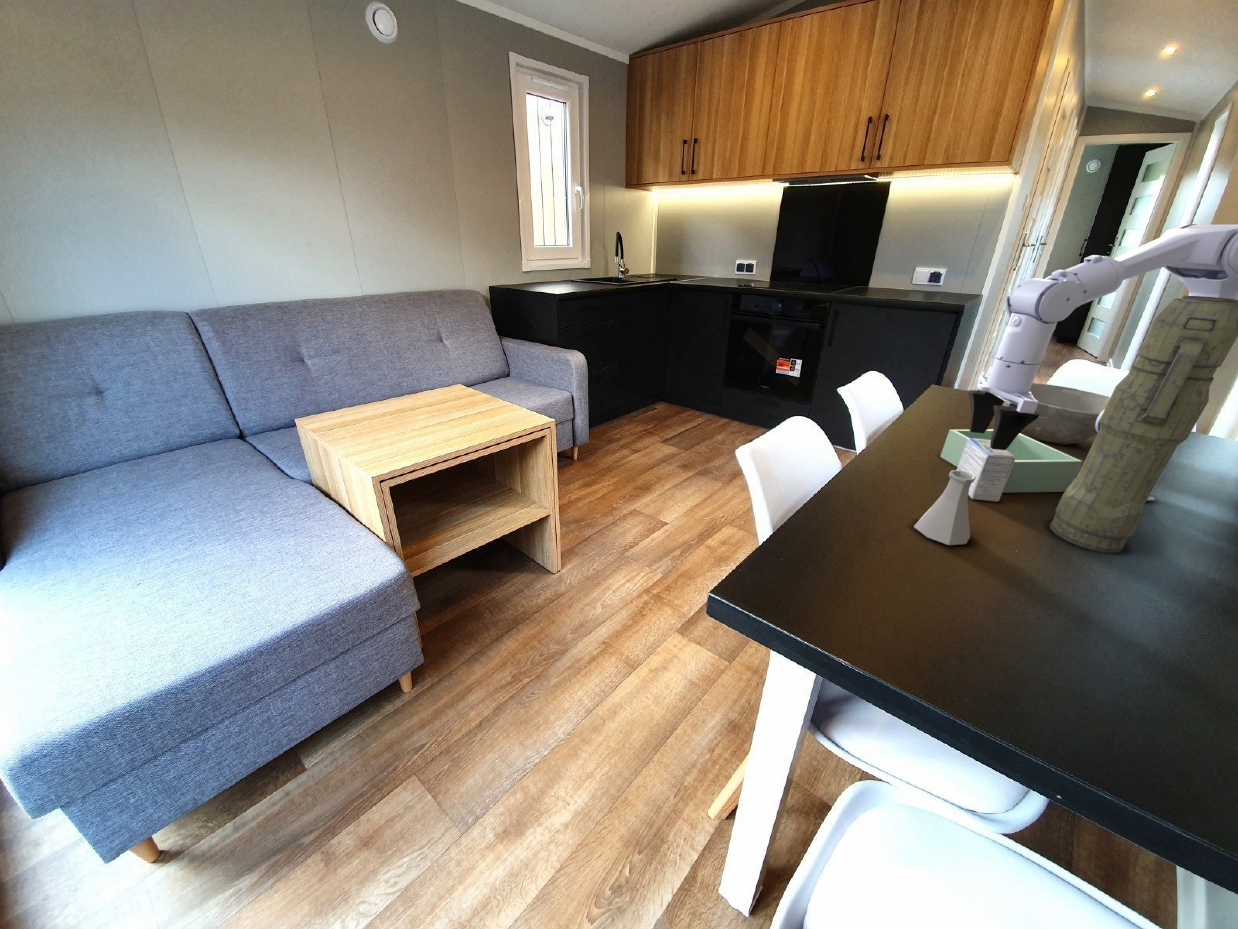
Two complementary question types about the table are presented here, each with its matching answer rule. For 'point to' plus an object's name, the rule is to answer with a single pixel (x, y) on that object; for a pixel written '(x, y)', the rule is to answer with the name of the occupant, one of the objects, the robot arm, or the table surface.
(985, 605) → the table surface
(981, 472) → the medicine box
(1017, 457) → the mint green tray
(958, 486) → the flask
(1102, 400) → the ceramic bowl
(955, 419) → the table surface
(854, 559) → the table surface
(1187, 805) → the table surface
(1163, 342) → the thermos
